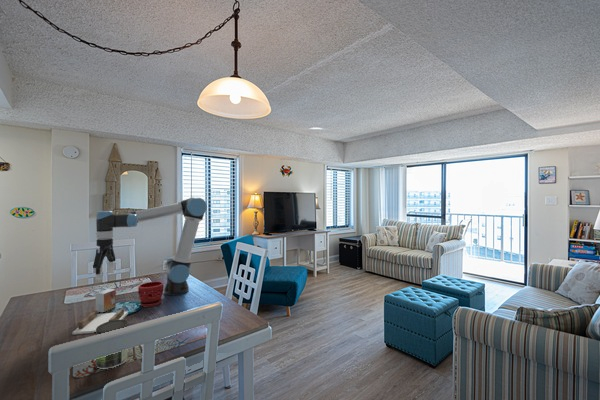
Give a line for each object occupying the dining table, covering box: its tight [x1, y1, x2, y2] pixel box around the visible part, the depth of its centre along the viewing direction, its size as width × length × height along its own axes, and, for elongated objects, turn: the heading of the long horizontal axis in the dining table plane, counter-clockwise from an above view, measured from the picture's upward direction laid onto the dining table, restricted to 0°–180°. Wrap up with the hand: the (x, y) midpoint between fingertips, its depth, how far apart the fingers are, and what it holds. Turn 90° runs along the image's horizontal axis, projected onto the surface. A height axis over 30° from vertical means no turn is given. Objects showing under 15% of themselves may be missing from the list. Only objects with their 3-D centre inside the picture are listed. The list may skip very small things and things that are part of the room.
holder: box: [72, 308, 129, 336], centre depth 138 cm, size 20×16×4 cm
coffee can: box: [95, 319, 129, 370], centre depth 106 cm, size 10×10×14 cm
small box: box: [94, 288, 117, 313], centre depth 154 cm, size 8×6×10 cm
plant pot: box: [137, 281, 164, 308], centre depth 163 cm, size 13×13×12 cm
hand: (104, 276), depth 154 cm, fingers open, 13 cm apart
